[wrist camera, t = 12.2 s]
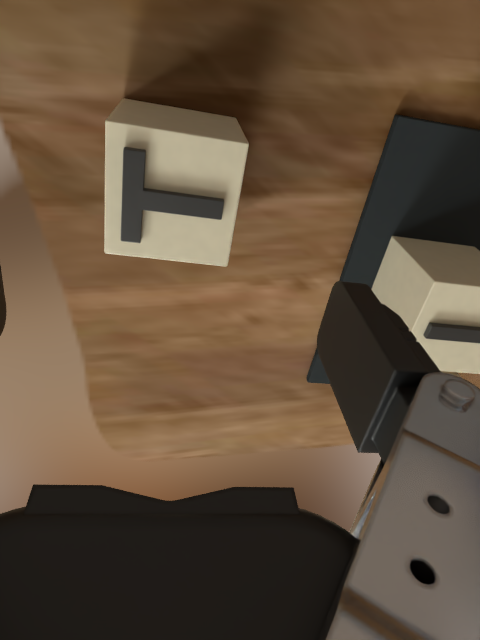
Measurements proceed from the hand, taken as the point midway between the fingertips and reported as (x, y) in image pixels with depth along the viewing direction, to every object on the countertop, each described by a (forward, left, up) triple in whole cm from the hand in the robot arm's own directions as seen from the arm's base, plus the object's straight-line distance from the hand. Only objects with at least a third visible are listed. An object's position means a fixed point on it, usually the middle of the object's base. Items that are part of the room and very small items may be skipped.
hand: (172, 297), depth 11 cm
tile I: (+4, +13, -10) cm, 17 cm away
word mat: (+4, +13, -10) cm, 17 cm away
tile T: (0, 0, -10) cm, 10 cm away
